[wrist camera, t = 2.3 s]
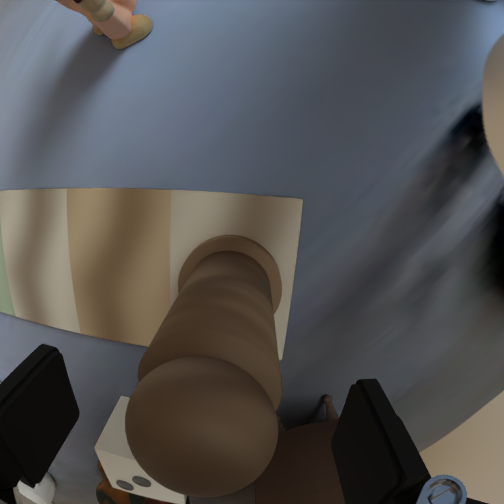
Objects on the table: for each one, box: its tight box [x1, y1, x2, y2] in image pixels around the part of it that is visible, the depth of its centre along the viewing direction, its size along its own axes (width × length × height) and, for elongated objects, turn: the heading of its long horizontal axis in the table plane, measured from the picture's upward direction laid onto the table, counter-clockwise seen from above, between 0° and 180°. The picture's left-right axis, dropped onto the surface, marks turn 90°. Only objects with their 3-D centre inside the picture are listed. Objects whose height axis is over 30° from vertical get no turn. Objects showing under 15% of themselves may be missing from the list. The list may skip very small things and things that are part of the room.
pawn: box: [125, 235, 282, 498], centre depth 11 cm, size 6×6×12 cm
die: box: [94, 395, 187, 504], centre depth 18 cm, size 6×6×6 cm
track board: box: [0, 188, 303, 360], centre depth 17 cm, size 28×10×1 cm, turn 85°
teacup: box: [17, 472, 55, 504], centre depth 24 cm, size 10×8×5 cm
